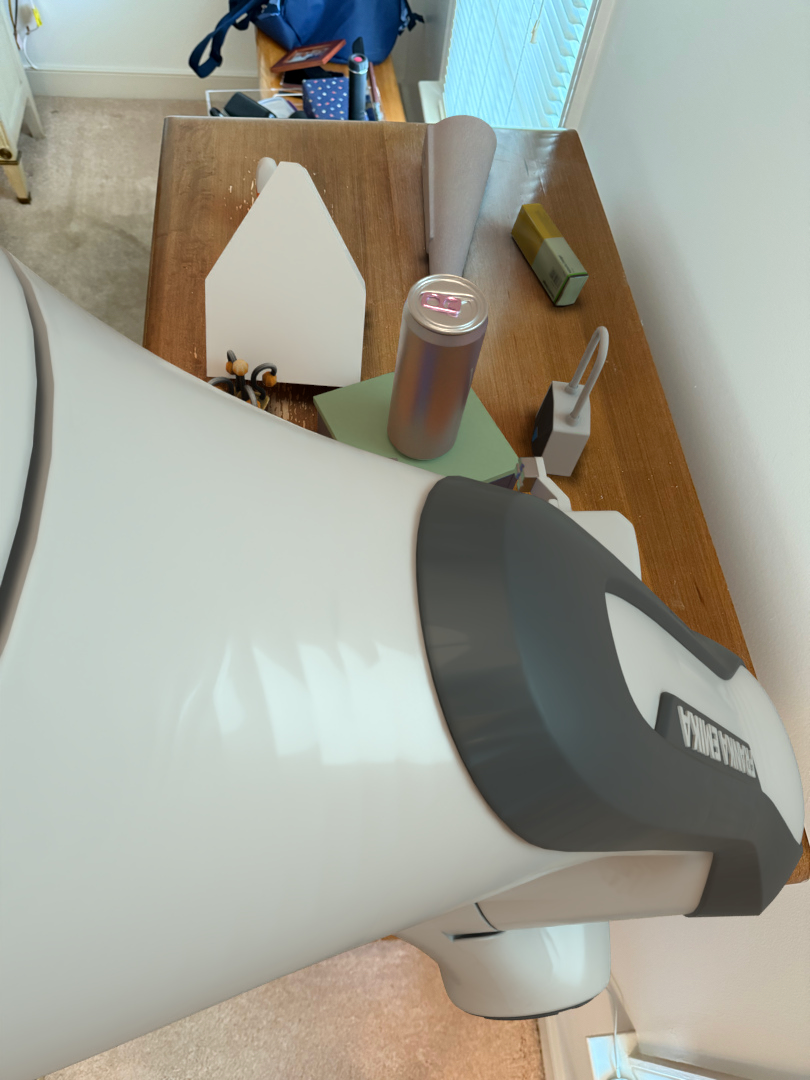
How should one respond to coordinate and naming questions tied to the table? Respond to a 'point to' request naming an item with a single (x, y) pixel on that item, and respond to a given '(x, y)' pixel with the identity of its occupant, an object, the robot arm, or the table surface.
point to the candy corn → (264, 173)
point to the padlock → (568, 413)
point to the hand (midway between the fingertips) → (457, 462)
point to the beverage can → (435, 363)
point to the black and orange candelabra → (241, 388)
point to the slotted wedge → (287, 290)
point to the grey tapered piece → (454, 187)
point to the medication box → (549, 254)
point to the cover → (363, 425)
